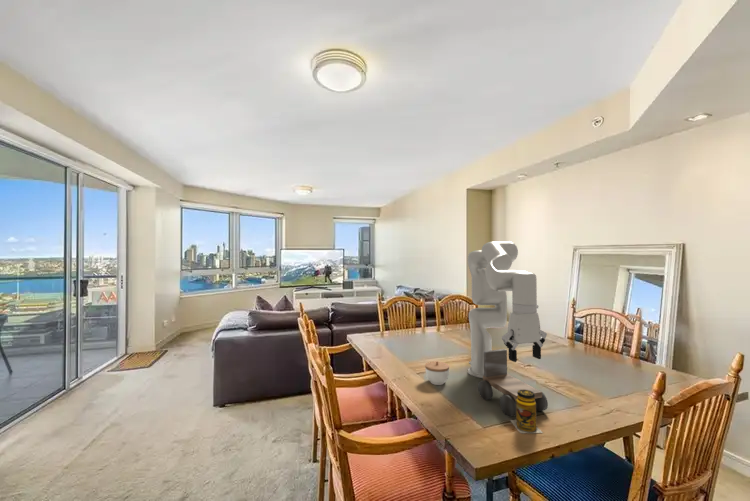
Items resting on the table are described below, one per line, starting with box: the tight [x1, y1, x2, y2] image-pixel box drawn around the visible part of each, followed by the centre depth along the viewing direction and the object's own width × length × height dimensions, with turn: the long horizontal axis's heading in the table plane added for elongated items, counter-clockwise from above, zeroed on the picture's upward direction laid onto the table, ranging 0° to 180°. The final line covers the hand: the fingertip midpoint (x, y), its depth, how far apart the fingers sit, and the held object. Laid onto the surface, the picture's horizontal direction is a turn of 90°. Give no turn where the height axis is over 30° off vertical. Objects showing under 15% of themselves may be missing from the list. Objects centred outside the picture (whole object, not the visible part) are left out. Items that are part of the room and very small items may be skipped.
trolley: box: [477, 348, 549, 418], centre depth 128 cm, size 21×15×18 cm
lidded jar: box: [424, 360, 450, 386], centre depth 150 cm, size 11×11×9 cm
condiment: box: [509, 390, 544, 434], centre depth 112 cm, size 7×8×12 cm
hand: (524, 359), depth 113 cm, fingers open, 9 cm apart
